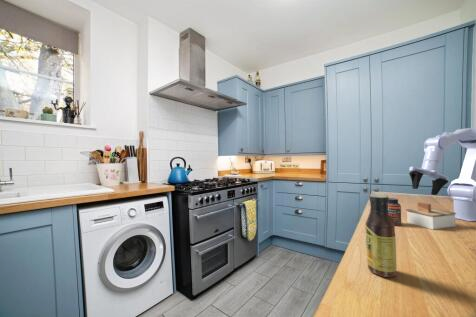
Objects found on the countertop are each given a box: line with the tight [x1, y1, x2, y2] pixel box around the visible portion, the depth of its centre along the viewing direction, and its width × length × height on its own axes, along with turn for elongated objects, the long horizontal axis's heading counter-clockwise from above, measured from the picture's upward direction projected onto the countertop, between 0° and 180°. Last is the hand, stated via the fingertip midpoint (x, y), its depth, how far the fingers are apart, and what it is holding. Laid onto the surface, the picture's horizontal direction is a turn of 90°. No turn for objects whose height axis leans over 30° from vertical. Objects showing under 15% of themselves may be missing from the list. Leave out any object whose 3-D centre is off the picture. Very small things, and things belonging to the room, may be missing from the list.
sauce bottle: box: [365, 193, 398, 278], centre depth 51 cm, size 7×6×20 cm
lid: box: [405, 202, 456, 217], centre depth 86 cm, size 12×10×4 cm
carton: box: [406, 211, 456, 230], centre depth 86 cm, size 12×10×5 cm
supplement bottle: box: [388, 197, 402, 227], centre depth 88 cm, size 6×6×11 cm
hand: (424, 191), depth 86 cm, fingers open, 7 cm apart
